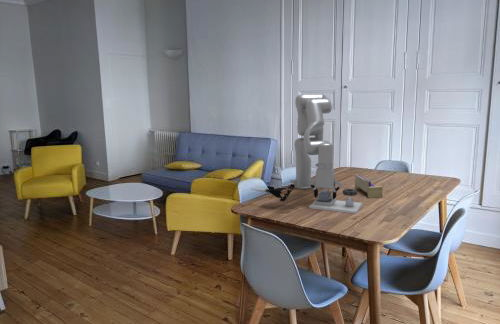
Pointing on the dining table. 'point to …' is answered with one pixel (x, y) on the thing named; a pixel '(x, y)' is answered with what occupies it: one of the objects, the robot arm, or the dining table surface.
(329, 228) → the dining table surface
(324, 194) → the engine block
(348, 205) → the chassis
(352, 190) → the wheel
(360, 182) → the toy sofa
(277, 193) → the rocket toy
